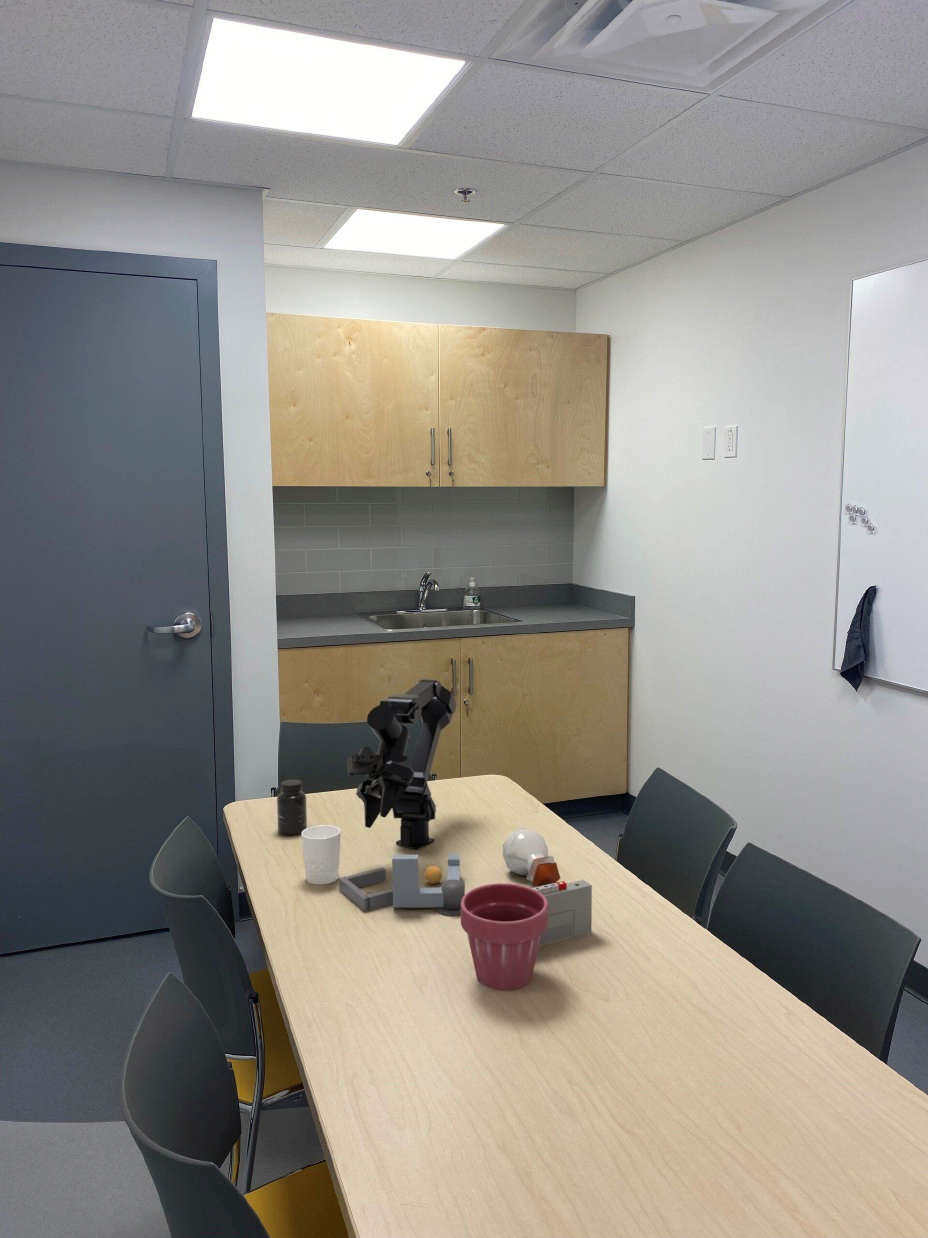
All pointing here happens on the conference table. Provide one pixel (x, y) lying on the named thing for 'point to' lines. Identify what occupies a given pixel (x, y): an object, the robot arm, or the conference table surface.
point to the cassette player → (567, 910)
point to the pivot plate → (448, 911)
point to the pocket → (356, 881)
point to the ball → (433, 874)
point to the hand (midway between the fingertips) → (375, 822)
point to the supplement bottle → (291, 808)
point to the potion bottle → (530, 857)
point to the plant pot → (504, 932)
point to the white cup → (321, 854)
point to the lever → (415, 897)
